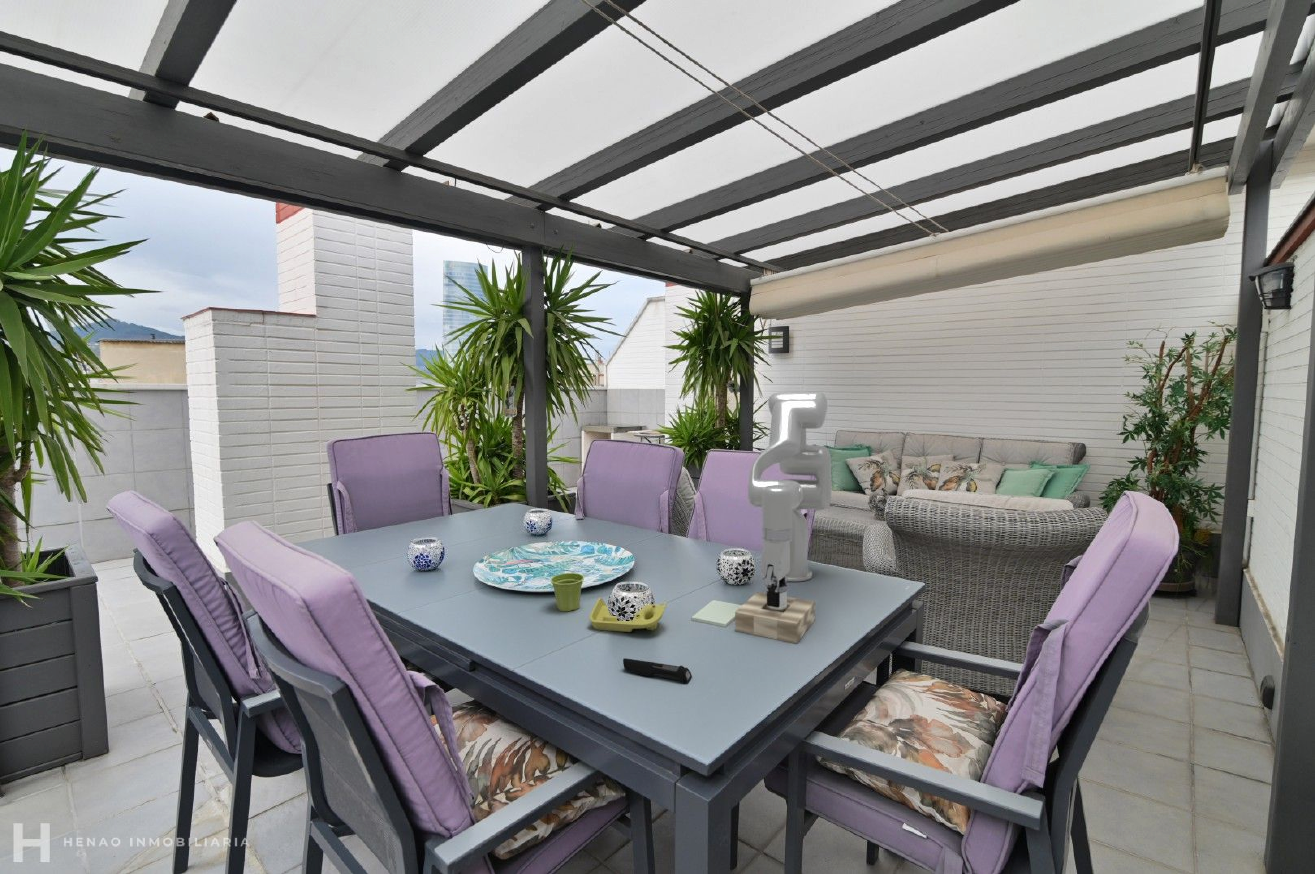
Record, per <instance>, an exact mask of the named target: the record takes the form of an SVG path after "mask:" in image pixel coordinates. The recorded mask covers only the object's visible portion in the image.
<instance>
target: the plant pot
mask: <svg viewBox="0 0 1315 874" xmlns="http://www.w3.org/2000/svg"><path fill="white" fill-rule="evenodd" d="M584 580H585V576H584V575H583V574H581V573H576V572H564V573H559V574H556V575H554V576H552V577H551V578H550V583H551V585H552V587H553V590H554V595H555V600H556V601H555V602H556V606H557V609H558V610H559V611H560V612H570V611H574V610H575V611H576V610H578V609H579V608H580V604H581V603H580V602H581V601H580V600H581V595H582V594H581V592H582V586H583V582H584Z"/></svg>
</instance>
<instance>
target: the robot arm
mask: <svg viewBox="0 0 1315 874" xmlns="http://www.w3.org/2000/svg"><path fill="white" fill-rule="evenodd" d="M767 400H768V402H767V405H768V409H769V412H770V415H771V423H770V430H769V431H770V432H769V443H768V446H767V447H766V448H765V449H764V450H762V451H761V452H760V454H758V456H757V457H756V458H755V460H754V461H753V462H752V465H751V468H750V472H749V477H748V486H747V499H748V501H749V504H750V505H752V506H753V507H757V508H761V536H762V537H761V540H762V541H763V542H762V544H763V545H762V551H761V562H760V563H761V564H760V565H761V566H760V567H761V569H760V577H761V579H762V580H765V581H764V582H765V583H764V584H765V586H766V594H767V605H768V606H772V607H777V608H778V607H779V606H780V592H778V589H779V584H783V585H786V586H787V587H788V584H787V583H788V582H795V583H797V582H805V581H808V580H810V579H812V578H813V572H812V570H810V569H808V531H809V530H808V528H809V527H808V521H807V519H806V517H805V515H804V514H803V513H802V512H801V511H800V510H811V511H812V510H813V511H823V510H827V509H828V508H829V507H830V505H831V501H832V458H831V453H830V451H829V449H828V448H827V447H826V446H824V445H812V444H811V445H810V444H807V429H808V430H809V429H811V430H812V429H815V430H817V429H820V428H822V427H823V425H824V423H825V420H826V415H827V412H828V411H827V410H828V400H827V397H826V395H825V394H824V393H823V392H822V391H821V392H820V391H784V392H782V391H781V392H775V393H772V394H771V395H770V396H769V397H768V399H767ZM776 464H779V465H778V466H779V469H780V472H782V473H783V474H785V475H790V476H810V477H811V476H812V477H814V478H815V479H810V478H809V479H805V478H783V479H762V478H761V477H762V474H763V473H764V472H765V470H767V469H768V468H770V467H771V466H775V465H776ZM774 578H775V579H774ZM773 583H776V584H775V585H774V584H773Z"/></svg>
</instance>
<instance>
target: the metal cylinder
mask: <svg viewBox="0 0 1315 874" xmlns="http://www.w3.org/2000/svg"><path fill="white" fill-rule="evenodd" d="M772 584H774V585H775V584H776V582H772ZM786 585H787V584H785V585H783V584H779V589H778V592H780V606H779V607H778V608H777V607H772V606H768V605H767V610H771V611H776V612H782V613H784V612H785V610H786V609H787V597H788V585H787V586H786Z"/></svg>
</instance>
